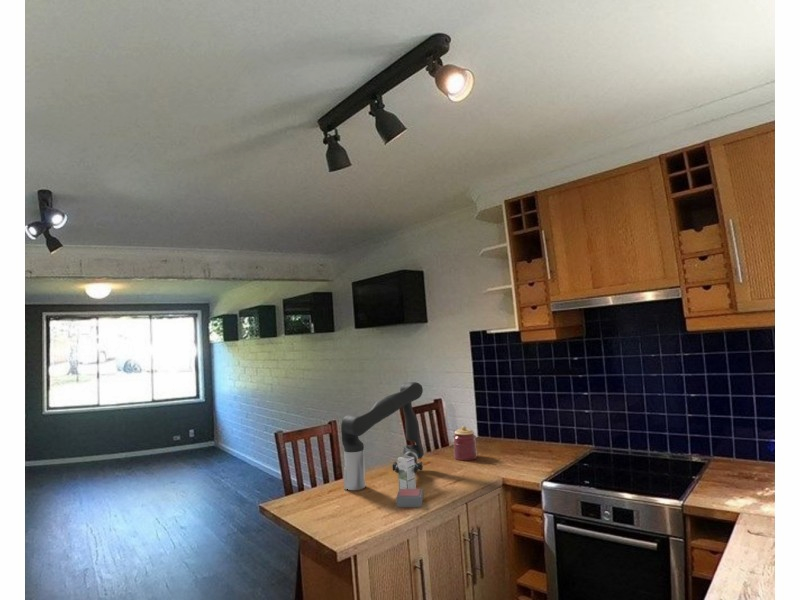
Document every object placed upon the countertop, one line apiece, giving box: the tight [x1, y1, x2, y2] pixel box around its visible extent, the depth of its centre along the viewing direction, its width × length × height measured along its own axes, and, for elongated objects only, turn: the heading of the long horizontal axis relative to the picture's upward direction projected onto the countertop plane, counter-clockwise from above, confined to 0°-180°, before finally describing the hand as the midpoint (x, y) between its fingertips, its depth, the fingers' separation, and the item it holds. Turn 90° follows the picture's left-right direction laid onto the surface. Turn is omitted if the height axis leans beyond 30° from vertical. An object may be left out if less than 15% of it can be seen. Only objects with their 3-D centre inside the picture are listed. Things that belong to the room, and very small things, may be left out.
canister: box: [452, 425, 478, 461], centre depth 257 cm, size 13×13×18 cm
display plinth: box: [396, 488, 424, 508], centre depth 192 cm, size 10×10×4 cm
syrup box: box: [397, 455, 417, 490], centre depth 208 cm, size 6×6×14 cm
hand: (406, 470), depth 206 cm, fingers closed on syrup box, 7 cm apart
